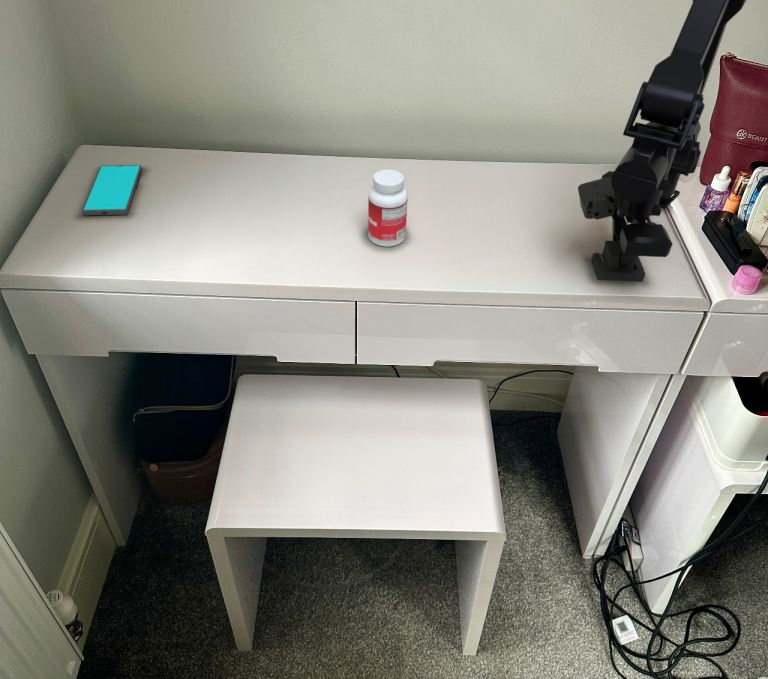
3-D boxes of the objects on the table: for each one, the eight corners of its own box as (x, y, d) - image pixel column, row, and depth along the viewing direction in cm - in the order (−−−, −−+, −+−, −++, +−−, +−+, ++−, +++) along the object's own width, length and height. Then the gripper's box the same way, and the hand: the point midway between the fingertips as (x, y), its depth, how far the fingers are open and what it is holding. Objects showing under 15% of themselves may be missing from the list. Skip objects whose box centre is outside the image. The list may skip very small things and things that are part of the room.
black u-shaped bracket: (591, 260, 112) (593, 252, 111) (635, 261, 112) (637, 254, 111) (597, 279, 108) (599, 272, 107) (642, 281, 108) (645, 273, 107)
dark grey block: (600, 255, 111) (605, 240, 109) (626, 256, 111) (631, 241, 109) (606, 271, 108) (611, 255, 106) (632, 272, 108) (637, 256, 106)
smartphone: (81, 211, 116) (100, 165, 127) (82, 215, 117) (101, 169, 128) (127, 210, 117) (142, 164, 128) (128, 214, 117) (143, 169, 128)
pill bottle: (366, 226, 117) (367, 167, 109) (403, 225, 117) (406, 166, 110) (369, 248, 112) (370, 188, 105) (407, 247, 113) (411, 187, 105)
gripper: (577, 134, 105) (557, 222, 116) (603, 202, 91) (577, 295, 102) (652, 137, 105) (625, 225, 116) (689, 205, 91) (654, 298, 102)
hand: (618, 258), depth 109 cm, fingers closed on dark grey block, 4 cm apart
